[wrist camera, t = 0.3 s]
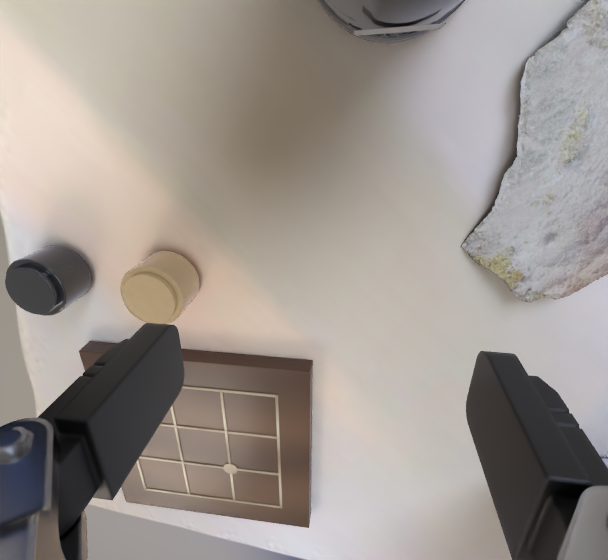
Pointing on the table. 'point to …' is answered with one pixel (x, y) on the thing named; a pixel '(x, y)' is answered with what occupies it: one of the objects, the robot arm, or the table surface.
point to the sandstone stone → (160, 287)
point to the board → (230, 439)
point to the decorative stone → (555, 170)
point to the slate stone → (48, 280)
